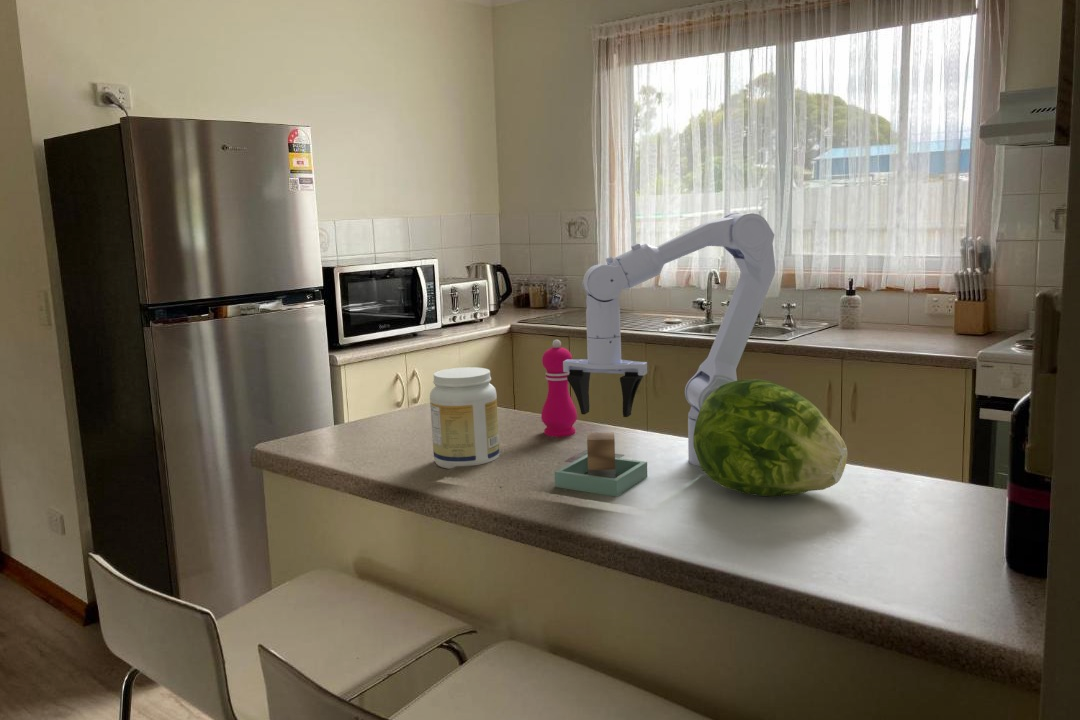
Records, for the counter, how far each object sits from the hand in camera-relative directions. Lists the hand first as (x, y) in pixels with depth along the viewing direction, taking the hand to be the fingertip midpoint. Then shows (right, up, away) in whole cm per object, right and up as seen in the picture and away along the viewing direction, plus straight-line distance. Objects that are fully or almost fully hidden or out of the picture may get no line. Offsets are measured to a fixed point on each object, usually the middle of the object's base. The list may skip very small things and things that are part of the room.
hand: (605, 414), depth 147 cm
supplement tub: (-25, -10, +12) cm, 29 cm away
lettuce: (+25, -12, -12) cm, 30 cm away
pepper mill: (-7, -7, +26) cm, 28 cm away
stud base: (-1, -9, +8) cm, 12 cm away
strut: (-1, -11, -6) cm, 12 cm away
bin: (-1, -12, -6) cm, 13 cm away
